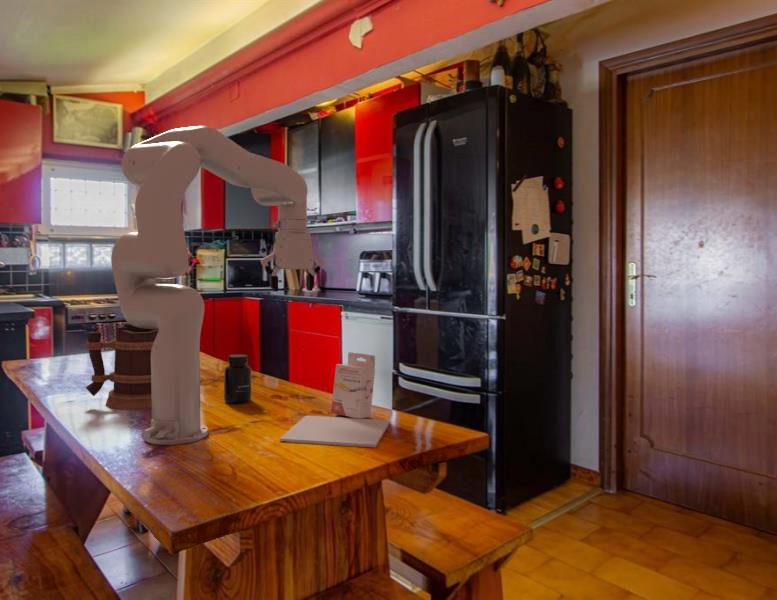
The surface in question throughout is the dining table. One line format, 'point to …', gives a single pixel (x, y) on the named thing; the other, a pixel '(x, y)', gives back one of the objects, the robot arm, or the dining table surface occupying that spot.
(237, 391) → the supplement bottle
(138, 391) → the mug
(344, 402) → the ink cartridge box
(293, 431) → the mat
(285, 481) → the dining table surface
